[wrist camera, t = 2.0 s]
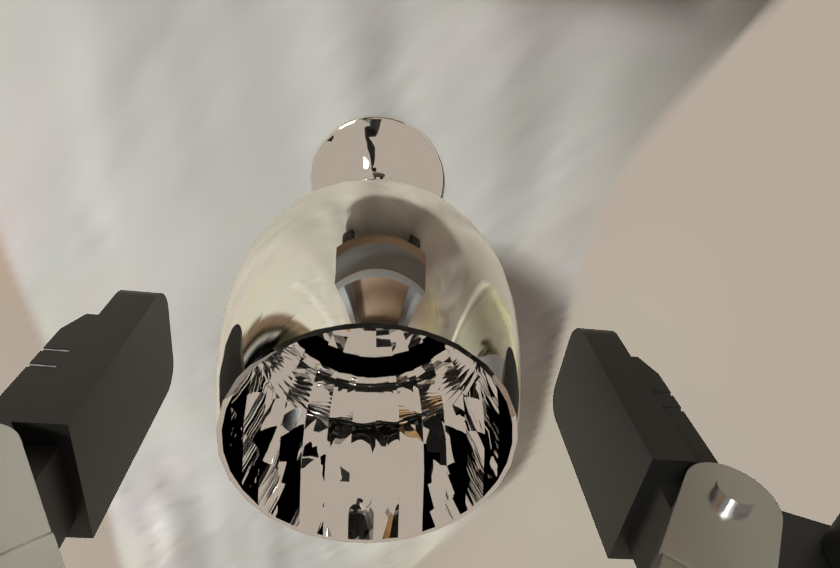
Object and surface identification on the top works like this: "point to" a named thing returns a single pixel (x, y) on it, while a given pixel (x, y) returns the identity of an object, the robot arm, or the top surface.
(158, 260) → the top surface
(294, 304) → the wineglass
